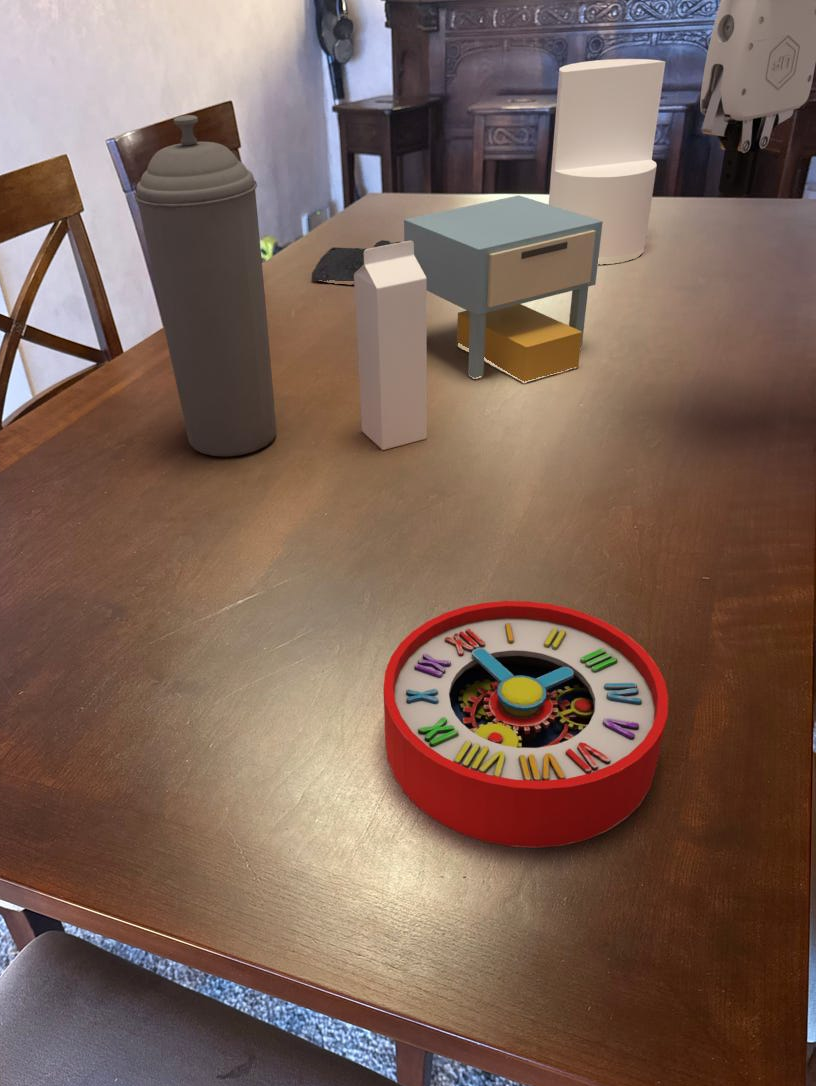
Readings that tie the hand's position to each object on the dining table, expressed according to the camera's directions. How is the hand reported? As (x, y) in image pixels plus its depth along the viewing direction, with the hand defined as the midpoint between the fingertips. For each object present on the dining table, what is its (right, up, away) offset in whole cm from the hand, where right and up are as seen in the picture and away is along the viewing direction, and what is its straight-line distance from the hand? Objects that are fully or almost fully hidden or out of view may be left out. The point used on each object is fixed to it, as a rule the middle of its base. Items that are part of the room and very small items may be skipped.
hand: (735, 192), depth 91 cm
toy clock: (-27, -53, -23) cm, 64 cm away
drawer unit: (-18, -3, +38) cm, 42 cm away
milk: (-34, -21, +18) cm, 43 cm away
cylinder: (+6, +24, +69) cm, 74 cm away
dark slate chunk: (-33, +19, +67) cm, 77 cm away
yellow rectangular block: (-16, -6, +34) cm, 38 cm away
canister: (-53, -21, +20) cm, 61 cm away
